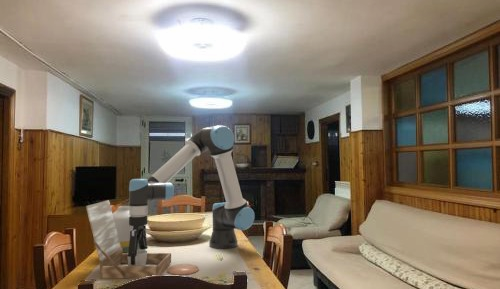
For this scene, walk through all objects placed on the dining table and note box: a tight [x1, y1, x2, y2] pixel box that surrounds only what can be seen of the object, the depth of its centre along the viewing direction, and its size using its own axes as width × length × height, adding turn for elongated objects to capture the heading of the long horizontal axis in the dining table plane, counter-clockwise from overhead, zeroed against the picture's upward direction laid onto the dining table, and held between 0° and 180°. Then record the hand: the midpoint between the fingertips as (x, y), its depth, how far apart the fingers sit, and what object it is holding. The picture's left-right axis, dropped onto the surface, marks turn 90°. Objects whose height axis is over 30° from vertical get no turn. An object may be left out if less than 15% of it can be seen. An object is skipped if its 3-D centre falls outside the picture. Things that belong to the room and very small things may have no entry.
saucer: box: [166, 263, 200, 276], centre depth 159 cm, size 13×13×1 cm
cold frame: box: [85, 199, 172, 279], centre depth 159 cm, size 29×23×28 cm
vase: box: [112, 205, 140, 253], centre depth 182 cm, size 17×17×24 cm
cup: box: [127, 249, 148, 266], centre depth 159 cm, size 11×8×8 cm
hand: (137, 268), depth 159 cm, fingers closed on cup, 11 cm apart
